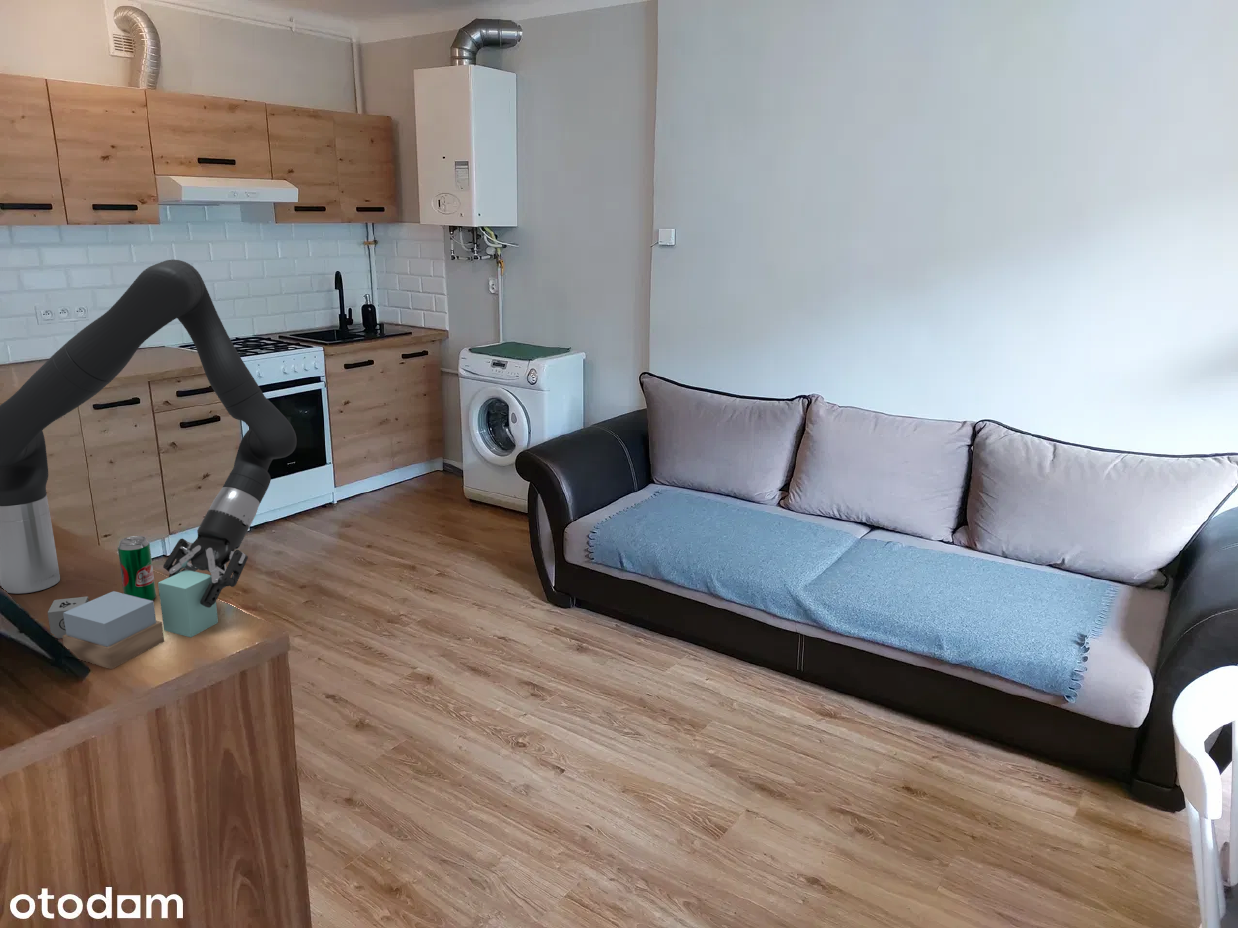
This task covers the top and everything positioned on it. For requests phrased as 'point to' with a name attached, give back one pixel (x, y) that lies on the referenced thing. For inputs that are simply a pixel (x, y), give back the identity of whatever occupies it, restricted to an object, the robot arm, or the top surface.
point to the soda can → (136, 567)
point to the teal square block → (186, 603)
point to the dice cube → (57, 613)
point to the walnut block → (116, 647)
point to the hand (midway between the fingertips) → (185, 601)
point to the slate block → (109, 618)
